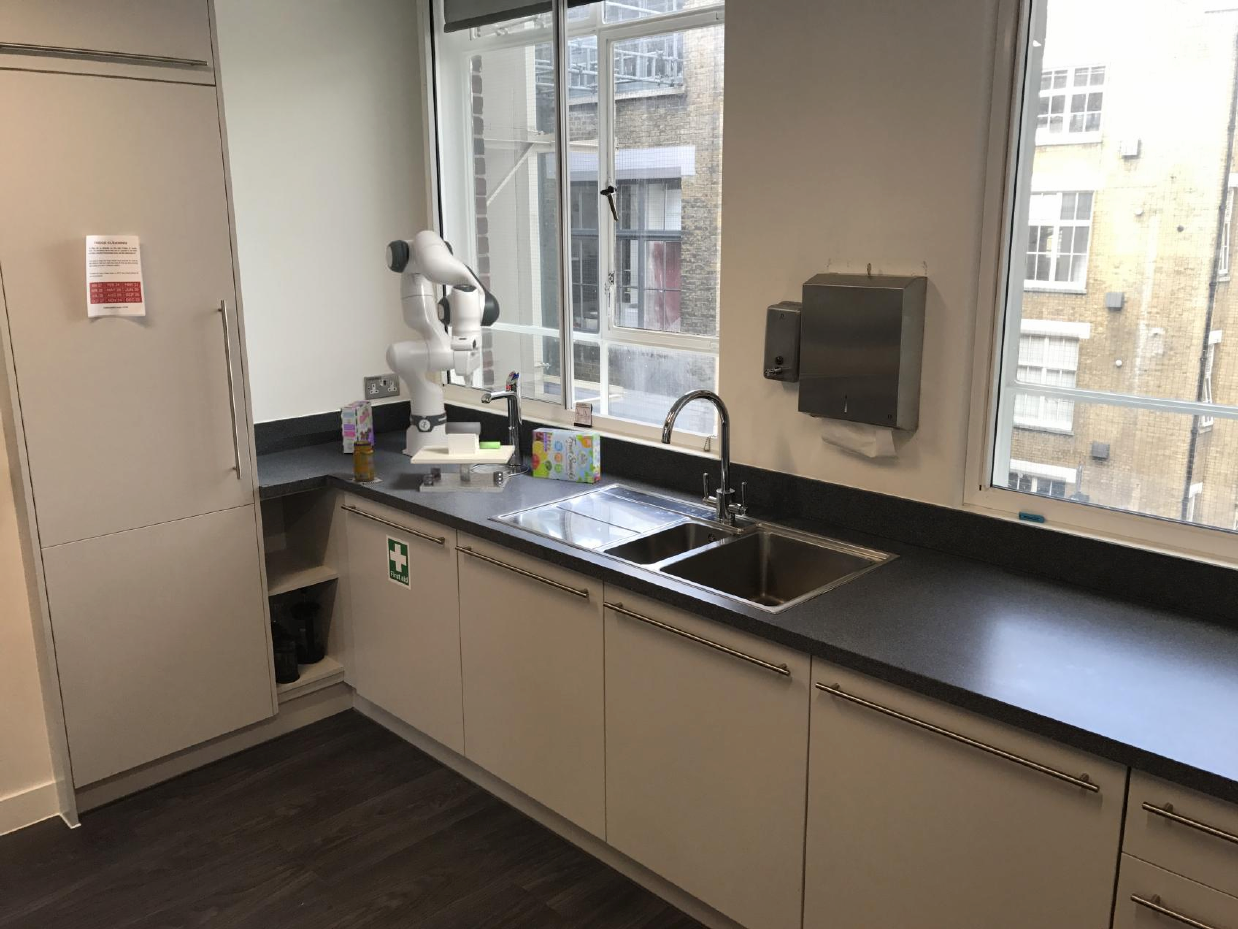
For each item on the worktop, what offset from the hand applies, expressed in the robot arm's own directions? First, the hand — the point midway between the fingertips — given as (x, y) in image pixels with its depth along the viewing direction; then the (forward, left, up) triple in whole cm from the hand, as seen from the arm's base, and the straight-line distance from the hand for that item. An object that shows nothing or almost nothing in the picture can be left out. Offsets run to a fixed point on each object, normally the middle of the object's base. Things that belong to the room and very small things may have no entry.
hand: (469, 386), depth 301 cm
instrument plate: (+3, -2, -20) cm, 21 cm away
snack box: (-5, +28, -30) cm, 41 cm away
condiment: (-2, -34, -30) cm, 45 cm away
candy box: (-43, -48, -30) cm, 70 cm away
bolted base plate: (+3, -2, -29) cm, 30 cm away
